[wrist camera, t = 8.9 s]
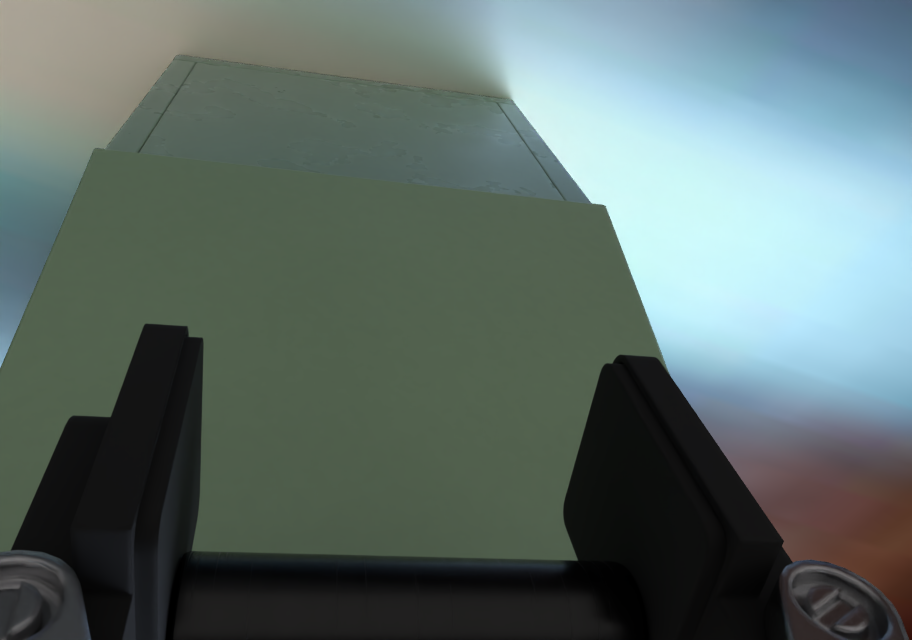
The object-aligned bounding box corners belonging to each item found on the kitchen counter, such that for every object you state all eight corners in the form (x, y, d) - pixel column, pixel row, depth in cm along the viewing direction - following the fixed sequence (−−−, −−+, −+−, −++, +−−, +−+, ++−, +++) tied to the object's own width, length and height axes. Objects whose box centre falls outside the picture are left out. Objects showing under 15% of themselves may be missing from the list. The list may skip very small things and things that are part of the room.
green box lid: (830, 874, 13) (1038, 746, 10) (-214, 932, 10) (-417, 780, 7) (598, 225, 25) (654, 72, 22) (96, 171, 23) (76, -12, 19)
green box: (453, 404, 45) (498, 597, 33) (173, 387, 42) (114, 591, 30) (512, 99, 37) (597, 209, 25) (176, 54, 34) (99, 153, 23)
